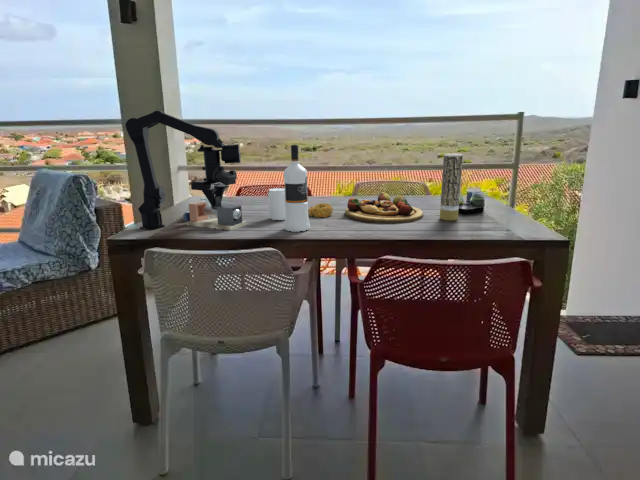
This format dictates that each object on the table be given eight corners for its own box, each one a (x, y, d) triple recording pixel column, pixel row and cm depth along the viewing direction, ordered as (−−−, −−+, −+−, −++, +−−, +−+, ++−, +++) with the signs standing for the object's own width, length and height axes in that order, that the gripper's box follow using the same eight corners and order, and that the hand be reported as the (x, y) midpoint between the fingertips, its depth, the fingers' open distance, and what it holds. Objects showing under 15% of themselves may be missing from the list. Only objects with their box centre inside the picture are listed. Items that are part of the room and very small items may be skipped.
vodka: (289, 225, 154) (286, 144, 145) (313, 227, 151) (311, 143, 143) (280, 231, 145) (277, 145, 137) (305, 233, 143) (303, 145, 134)
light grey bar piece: (180, 212, 163) (200, 193, 186) (183, 227, 165) (202, 207, 188) (193, 212, 162) (212, 193, 185) (195, 227, 165) (214, 207, 188)
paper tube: (458, 221, 156) (464, 154, 149) (440, 221, 157) (444, 154, 150) (456, 217, 162) (461, 153, 155) (438, 217, 163) (443, 153, 157)
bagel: (306, 213, 175) (306, 202, 174) (331, 212, 176) (331, 201, 174) (307, 218, 165) (307, 207, 164) (334, 218, 166) (334, 206, 165)
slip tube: (241, 218, 153) (239, 197, 151) (235, 220, 150) (233, 199, 148) (209, 214, 160) (207, 194, 157) (203, 216, 156) (201, 196, 154)
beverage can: (265, 220, 163) (263, 190, 160) (276, 216, 170) (275, 187, 167) (282, 222, 160) (281, 191, 156) (293, 217, 167) (292, 188, 163)
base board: (247, 224, 157) (246, 221, 156) (230, 230, 148) (230, 227, 148) (204, 219, 166) (204, 216, 165) (186, 225, 157) (186, 222, 157)
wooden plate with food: (338, 222, 159) (338, 201, 156) (351, 205, 188) (352, 188, 186) (422, 227, 152) (424, 206, 149) (423, 209, 181) (424, 191, 179)
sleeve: (242, 222, 155) (241, 205, 153) (233, 225, 150) (231, 208, 148) (227, 220, 158) (226, 204, 156) (218, 224, 153) (216, 206, 151)
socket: (207, 218, 162) (206, 201, 160) (197, 221, 157) (195, 204, 155) (201, 217, 164) (199, 201, 162) (190, 221, 158) (188, 203, 157)
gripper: (212, 167, 139) (216, 212, 143) (245, 162, 155) (248, 202, 159) (187, 166, 144) (192, 209, 148) (222, 161, 160) (225, 200, 164)
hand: (216, 205), depth 155 cm, fingers closed on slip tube, 3 cm apart
